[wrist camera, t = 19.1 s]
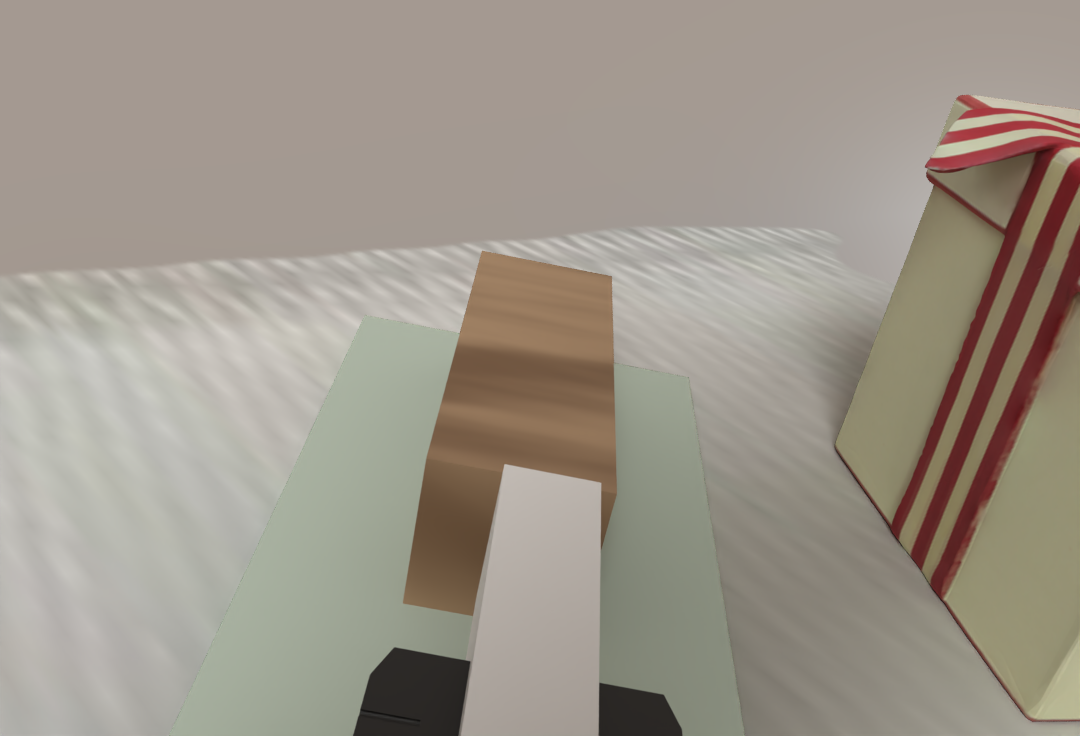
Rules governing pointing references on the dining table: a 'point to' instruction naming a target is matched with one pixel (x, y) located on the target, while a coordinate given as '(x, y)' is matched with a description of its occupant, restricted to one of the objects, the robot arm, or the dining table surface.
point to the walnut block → (513, 414)
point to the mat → (386, 541)
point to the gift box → (988, 395)
